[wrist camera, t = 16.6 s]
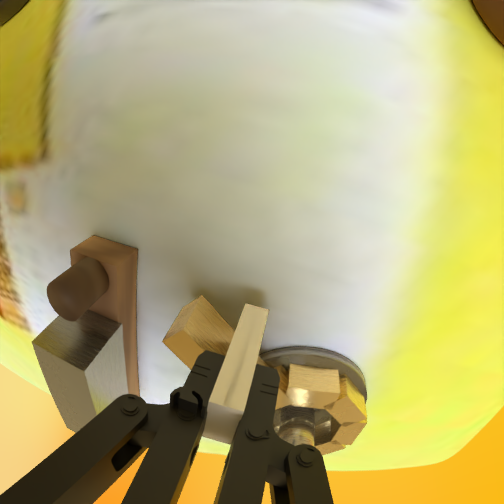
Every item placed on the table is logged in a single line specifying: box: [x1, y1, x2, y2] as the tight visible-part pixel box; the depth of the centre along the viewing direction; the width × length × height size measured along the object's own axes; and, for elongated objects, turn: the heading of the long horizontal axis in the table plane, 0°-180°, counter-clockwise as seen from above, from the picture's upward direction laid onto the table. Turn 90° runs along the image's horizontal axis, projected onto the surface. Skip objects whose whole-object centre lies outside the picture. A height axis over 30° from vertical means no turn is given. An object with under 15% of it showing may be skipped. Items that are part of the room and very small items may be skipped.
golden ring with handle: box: [162, 295, 367, 455], centre depth 17 cm, size 9×16×3 cm, turn 38°
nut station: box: [258, 347, 367, 446], centre depth 17 cm, size 10×10×7 cm
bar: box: [32, 309, 129, 433], centre depth 17 cm, size 10×4×4 cm, turn 167°
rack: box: [47, 235, 140, 397], centre depth 18 cm, size 4×17×6 cm, turn 167°
